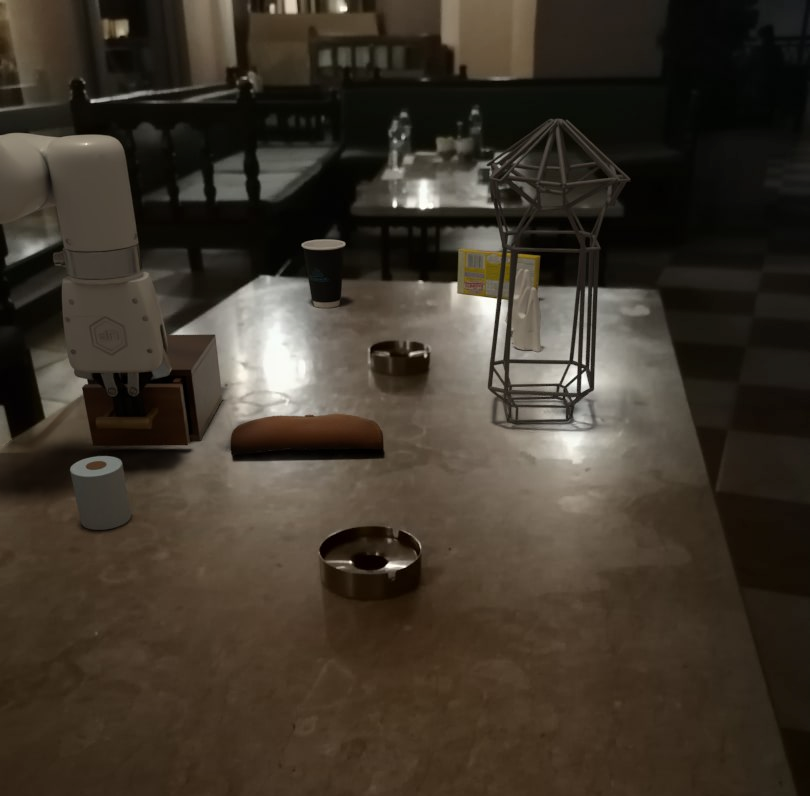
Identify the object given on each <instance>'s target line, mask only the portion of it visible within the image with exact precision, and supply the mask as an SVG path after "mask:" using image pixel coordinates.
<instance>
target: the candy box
mask: <svg viewBox="0 0 810 796" xmlns="http://www.w3.org/2000/svg"><path fill="white" fill-rule="evenodd" d="M457 253H458V255H457V285H456V286H457V287H456V293H457V294H463V295H470V296H471V295H472V296H478V297H479V296H480V297H487V298H496V299H497V296H498V286H499V277H500V268H501V259H502V251H492V250H484V249H483V250H481V249H471V248H459V249H458V252H457ZM510 258H511V252H507V255H506V265H505V274H504V283H503V292H502V300H503V299H504V300H508V296H509V276H510ZM540 266H541V255H537V254H535V255H534V254H526V253H518V261H517V270H516V275H517V273H518V271H519V270H520V269H524V270H526V269H527V270H529V272H530V275H531V280H532V286H533V287H534V288H536V290H537V294H538V295H539V282H540V281H539V280H540Z"/></svg>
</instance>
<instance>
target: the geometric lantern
mask: <svg viewBox="0 0 810 796" xmlns="http://www.w3.org/2000/svg"><path fill="white" fill-rule="evenodd" d="M563 131H564V132H565V133H566V134H568V135H569V137H570V138H571V139H572V140H573V141H574V142H575V143H577V145H578V146H579V147H580V148H581V149H582V150H583V151H584V152H585V153H586V154H587V156H588V157H590V159H591V160H592V161H591V162H585V163H577V164H571V165H570V162H569V158H568V152H567V148H566V143H565V139H564V133H563ZM547 134H548V137H547V140H546V144H545V147H544V150H543V154H542V158H541V162H540V164H539V166H538V165H530V164H524V163H521V162H522V161H524V159H525V158H526V157H527V156H528V155H529V154H530V152H531V151H533V149H535V147H537V145H538V144H539V143H540V142H541V141H542V140H543V139H544V138H545V137H546V136H547ZM554 142H556V143H555V144H556V149H557V157H558V165H559V166H549V162H550V161H549V160H550V157H551V153H552V149H553V145H554ZM503 156H504V157H503ZM500 158H501V159H500ZM499 159H500V160H499ZM496 161H497V162H496ZM486 166H487V167H490V171H491V174H490V176H489V178H488V180H489V190H490V191H489V192H490V201H491V202H492V203H493V207H494V213H495V217H496V223H497V227H498V233H499V238H500V242H501V243H500V244H501V248H502V249H501V250H502V251H501V252H502V259H501V268H500V277H499V286H498V296H497V298H496V306H495V315H494V323H493V333H492V343H491V351H490V358H489V359H490V360H489V367H488V379H487V380H488V381H487V390H489V392H490V393H492V394H493V395H494V396H496V397H497V398H498V399H499V400H500V401H501V402H502V406H503V410H504V414H505V420H506V422H507V423H512V424H513V423H514V424H530V423H531V424H532V423H535V424H536V423H537V424H538V423H568V422H569V421H571V420H572V419H573V418H574V412H575V411H574V410H575V405H577V404H578V403H579V402H580V401H581V400H583V399H584V398H585V397H587V396H588V395H590V393H592V392H594V390H595V376H596V374H595V373H596V343H597V319H598V292H599V268H600V267H599V264H600V263H599V262H600V251H601V249H602V248H601V246H600V243H599V241H598V236H599V232H600V229H601V226H602V223H603V221H604V216H605V214H606V211H607V209H608V207H615V206H616V202H617V198H618V197H619V195H620V194H621V192H622V190H623V189H624V187H625V186H626V184H627V183H629V182H631V181H632V180H631V178H630V177H629V175H627V174H626V173H625V172H624V171H623V170H622V169H620V168H619V166H617V165H616V164H615V162H613V161H612V160H611V159H610V158H609V157H608V156H607V155H606V154H604V152H602V151H601V150H600V148H598V147H597V146H596V145H595V144H594V143H593V142H592V141H591V140H589V138H588V137H587V136H586V135H585V134H583V133H582V132H581V131H580V130H579V129H578V128H577V127H576V126H575V125H574V124H573V123H572V122H570V121H569V119H563V118H554V119H553V118H549V119H548V120H546V121H545V122H543V123H542V124H540V125H539V126H538V127H536V128H535V129H533V130H532V131H531V132H530V133H528V134H527V135H525V136H524V137H523V138H521V139H520V140H518V141H517V142H516V143H514V144H513V145H511V146H510V147H509V148H507V149H505V150H504V151H502V152H501V153H500V154H498V155H497V156H496V157H494V158H493V159H492V160H490V161H489V162H487V164H486ZM499 166H500V167H499ZM586 168H587V169H589V168H591V169H589V171H587V172H586V173H585V174H584V175H582V176H581V177H580V178H578V179H577V180H576V181H572V182H571V181H570V182H569V177H570V173H571V171H572V170H574V171H575V170H580V169H581V170H582V169H586ZM517 169H521V170H526V171H527V170H528V171H534V172H537V175H536V177H535V178H534V177H527V176H525V175H524V174H522V173H521V172H519V171H518V170H517ZM598 170H601V171H602V172H603V173H604V174H605V175H606V176H607V177H606V178H597V179H589V180H587V179H588V178H589V177H591V176H592V175H593V174H594V173H596V172H597V171H598ZM505 171H507V172H506V173H505V174H504V175H503V176H502V177H501V178H499V177H500V176H501V175H502V174H503V173H504V172H505ZM547 172H560V180H561V182H556V181H547V180H546V177H547ZM617 172H618V173H619V174H617ZM510 174H511V175H510ZM515 182H517V183H518V182H519V183H526V184H527V185H529V186H531V188H533V189H535V195H534V197H533V198H532V197H531V196H530V195H529V194H528V193H526V191H524V190H523V189H522V188H521V187H520V186H518V185H517V184H516V183H515ZM499 183H505V184H506V185H508V186H509V187H510V188H511V189H512V190H513V191H514V192H515V193H517V194H518V195H519V196H520V197H522V198H523V199H524V200H525V201H526V202H528V203H529V205H528V207H527V208H526V211H525V213H524V215H523V217H522V218H521V219H520V221H519V224H518V225H517V227H516V229H515V230H509V229H508V225H507V222H506V218H505V215H504V212H503V208H502V203H501V194H500V187H499ZM597 185H599V186H597ZM588 186H597V187H595V188H594V189H593V188H592V190H590V191H588V192H586V193H585V194H583V195H581V196H579V197H576V198H575V199H573V200H572V201H569V200H568V197H567V195H568V194H569V193H570V192H571V191H573V190H574V189H575V188H579V187H588ZM545 187H547V188H545ZM549 188H557V189H561V190H556V189H549ZM605 189H607V190H606V191H607V192H606V200H605V202H604V204H603V207H602V209H601V211H600V213H599V215H598V217H597V219H596V222H595V223H594V226H593V229H592V231H591V232H588V231H585V229H584V228H583V226H582V224H581V222H580V220H579V218H578V216H577V214H576V213H575V211H574V209H573V207H574V206H576V205H578V204H580V203H582V202H583V201H585V200H587V199H589V198H591V197H593V196H594V195H596V194H598V193H600V192H602V191H603V190H605ZM541 194H546V195H553V196H562V205H556V206H546V207H543V206H542V203H541V202H542V201H541ZM533 208H535V211H534V212H533V214H532V215H531V216H530V218H529V219H528V220H527V218H528V217H529V215H530V213H531V211H532V210H533ZM553 212H565V214H566V216H567V219H568V221H569V223H570V225H571V227H572V229H573V230H526V229H527V228H528V227H529V225H530V224H531V222H532V221H533V220H534V219H535V217H536V216H537V214H538V213H539V214H544V213H553ZM526 220H527V222H526ZM525 222H526V223H525ZM523 225H524V226H523ZM503 227H504V228H503ZM578 227H579V228H578ZM504 230H505V231H504ZM523 234H525V235H527V234H528V235H529V234H530V235H531V234H532V235H534V234H535V235H537V234H538V235H539V234H541V235H542V234H543V235H544V234H545V235H546V234H547V235H548V234H549V235H575V237H576V238H577V241H578V243H579V245H580V248H550V247H549V248H548V247H547V248H546V247H543V248H542V247H520V241H521V236H522V235H523ZM509 236H515V238H514V240H513V241H512V242H511V243H510V244H508V242H509V241H508V240H509ZM586 238H589V247H587V246H586ZM508 251H510V253H511V258H510V276H509V296H508V299H507V301H508V302H507V312H508V316H507V315H506V316H507V323H506V328H505V337H504V338H505V339H504V348H503V359H500V360H499V359H498V360H496V353H497V345H498V335H499V328H500V327H499V326H500V317H501V316H500V315H501V310H502V309H501V307H502V300H503V298H502V292H503V283H504V274H505V265H506V255H507V253H508ZM519 252H539V253H543V252H544V253H548V252H549V253H576V254H577V253H579V257H578V268H577V276H576V277H577V278H576V287H575V298H574V299H575V300H574V309H573V320H572V331H571V340H570V351H569V352H570V353H569V358H568V359H513V358H512V359H511V341H512V340H511V338H512V330H511V324H512V308H513V299H514V289H515V280H516V270H517V261H518V254H519ZM587 254H588V256H589V257H588V281H587V282H588V283H587V311H586V312H587V313H586V338H585V339H586V342H585V364H584V363H583V353H584V351H583V350H584V329H585V327H584V325H585V303H586V302H585V301H586V279H587V278H586V277H587V275H586V273H587ZM578 318H579V319H578ZM578 320H579V321H578ZM577 329H578V344H577V361H576V360H574V357H575V350H576V349H575V348H576V338H577ZM510 364H523V365H525V364H526V365H529V364H530V365H566V367H565V369H564V372H563V374H562V376H561V379H560V381H559V383H512V381H511V379H510ZM499 365H502V367H503V370H504V378H502V376H501V375H500V373H499V372H498V371H497V369H496V367H495V366H499ZM571 365H573V366H575V367H576V368H577V370H576V372H577V373H576V375H574V377H573V378H572V379H571V380H570V381H569V382H568V383H566V384H565V385H564V384H563V382H564V381H565V378H566V376H567V374H568V371H569V369H570V367H571ZM584 373H585V374H586V378H587V383H588V388H587V389H585V390H583V391H582V377H583V374H584ZM494 374H495V375H496V377H497V379H498V380H499V381H500V382H501V384H502V385H503V388H501V387H496V386H493V379H494ZM575 381H576V392H570V391H569V390H568V387H570V386H571V385H572V384H573V383H574V382H575ZM537 387H541V388H542V387H556V389H555V391H544V390H523V389H513V388H537ZM560 388H562V389H563V390H562V391H560ZM499 393H500V394H499ZM501 394H503V396H501ZM512 395H519V396H517V397H516V396H515V397H514V396H513V397H512ZM521 395H522V396H521ZM573 398H574V399H573ZM567 399H568V400H569V404H568V401H567ZM532 400H534V401H535V400H537V401H538V400H558V401H561V402H562V401H563V403H564V404H527V403H526V404H525V403H523V404H522V403H521V404H519V403H516V402H515V401H532ZM507 406H508V408H507ZM513 408H514V409H515V411H514V412H515V413H514V419H513V418H512V409H513ZM519 408H538V409H539V408H541V409H565V418H551V419H550V418H549V419H548V418H547V419H544V418H543V419H519Z"/></svg>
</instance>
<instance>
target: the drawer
mask: <svg viewBox="0 0 810 796" xmlns="http://www.w3.org/2000/svg"><path fill="white" fill-rule="evenodd" d="M122 378H123V381H124V385H126V388H128V376H122ZM81 391H82V395H83V400H84V406H85V410H86V416H87V421H88V427H89V431H90V436H91V437H90V438H91V443H92V446H93V447H104V446H105V447H106V446H107V447H110V446H111V447H112V446H113V447H118V446H120V447H123V446H124V447H126V446H127V447H128V446H130V447H131V446H135V447H137V446H139V447H140V446H141V447H142V446H152V447H153V446H189V444H190V442H191V441H190V438H189V430H190V428H191V426H192V423H191V416H190V408H189V401H188V393H187V386H186V378H185V376H166V377H162V378H158V379H153V380H150V381H149V382H148V383H147V385H146V386H145V387H144V388H143V389H142V394H143V400H144V407H145V417H116V415H115V409H114V404H113V398H112V396H110V395H108V393H107V391H106V389H104V388H103V387H102V386H101V385H99V384H98V383H97V382H95V384H88V383H84V385H82V387H81ZM122 429H127V430H122ZM132 429H136V430H132Z"/></svg>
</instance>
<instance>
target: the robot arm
mask: <svg viewBox="0 0 810 796" xmlns="http://www.w3.org/2000/svg"><path fill="white" fill-rule="evenodd" d="M133 203H134V202H133V196H132V191H131V184H130V176H129V171H128V163H127V158H126V153H125V149H124V147H123V145H122V143H121V142H120V140H119V139H117V138H116V137H114V136H111V135H105V134H77V135H76V134H75V135H66V136H62V137H58V136H49V135H43V134H41V135H40V134H34V133H25V132H10V133H5V134H1V135H0V225H4V224H5V225H6V224H10V223H12V222H15V221H17V220H19V219H21V218H24V217H26V216H29V215H31V214H33V213H36V212H38V211H39V212H40V211H42V210H44V209H46V208H47V209H48V208H52V207H56V211H57V217H58V223H59V227H60V233H61V239H62V244H63V247H62V250H60V251H59V252H53V254H52V260H53V264H54V266H61V267H64V268H65V270H66V274H67V275H68V276H66V277H64V278H62V280H61V307H62V321H63V332H64V339H65V346H66V354H67V358H68V362H69V365H70V367H71V368H72V369H73V373H74V374H73V375H74V376H75V377H77V378H80V379H85V380H87V379H89V380H95V381H96V382H97V383H98V384H99V385H101V386H102V387H103V388H104V389H106V391H107V393H108V395H110V396H112V398H113V404H114V409H115V415H116V417H145V407H144V400H143V394H142V389H143V388H144V387H145V386H146V385H147V383H148V382H149V381H150V380H153V379H158V378H162V377H166V376H168V375H169V374H170V372H171V371H172V367H171V365H170V362H169V360H168V357H167V355H168V343H167V337H166V335H167V332H166V327H165V321H164V317H163V313H162V310H161V305H160V301H159V298H158V296H157V292H156V289H155V286H154V283H153V280H152V278H151V276H150V273H149V272H147V271H144V268H143V263H142V257H141V255H142V254H141V249H140V242H139V237H138V231H137V224H136V223H137V222H136V217H135V210H134V204H133ZM121 373H128V388H126V385H124V381H123V378H122V375H121ZM122 430H127V429H122ZM132 430H136V429H132Z"/></svg>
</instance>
